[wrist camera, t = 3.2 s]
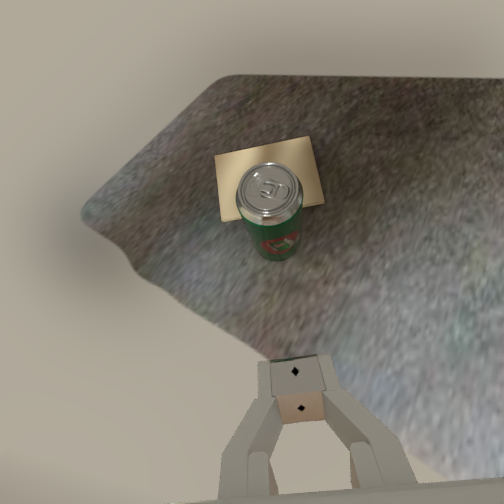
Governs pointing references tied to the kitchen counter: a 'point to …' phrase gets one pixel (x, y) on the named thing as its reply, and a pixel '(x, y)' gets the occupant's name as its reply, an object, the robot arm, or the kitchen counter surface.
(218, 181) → the cork mat
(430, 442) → the kitchen counter surface
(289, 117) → the kitchen counter surface
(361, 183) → the kitchen counter surface
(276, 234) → the soda can
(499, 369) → the kitchen counter surface
